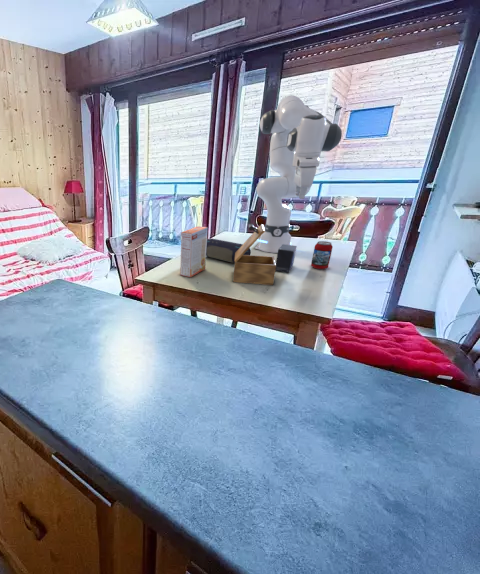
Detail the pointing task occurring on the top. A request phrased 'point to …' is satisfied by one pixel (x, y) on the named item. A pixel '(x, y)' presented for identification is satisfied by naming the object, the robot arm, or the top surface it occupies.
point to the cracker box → (193, 251)
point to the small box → (285, 258)
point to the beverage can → (321, 255)
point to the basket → (255, 270)
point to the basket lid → (249, 240)
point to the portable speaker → (223, 250)
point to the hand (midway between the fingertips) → (299, 197)
